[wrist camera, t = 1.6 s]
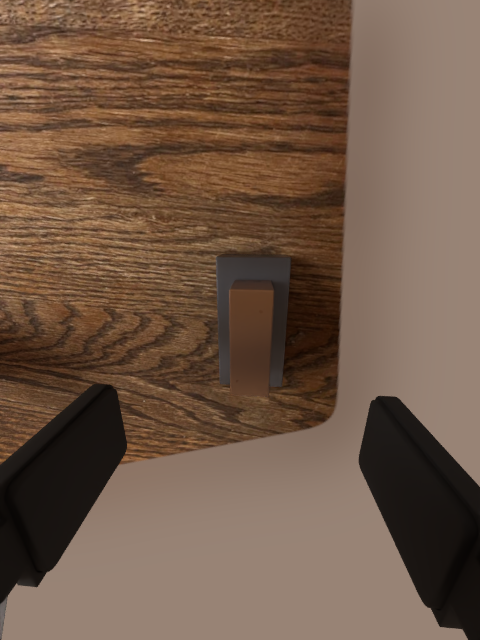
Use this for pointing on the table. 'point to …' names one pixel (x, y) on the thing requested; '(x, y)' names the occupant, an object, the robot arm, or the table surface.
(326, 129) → the table surface
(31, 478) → the robot arm
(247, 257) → the eraser
